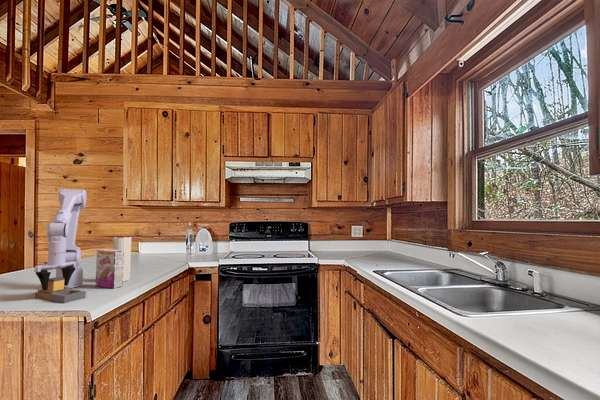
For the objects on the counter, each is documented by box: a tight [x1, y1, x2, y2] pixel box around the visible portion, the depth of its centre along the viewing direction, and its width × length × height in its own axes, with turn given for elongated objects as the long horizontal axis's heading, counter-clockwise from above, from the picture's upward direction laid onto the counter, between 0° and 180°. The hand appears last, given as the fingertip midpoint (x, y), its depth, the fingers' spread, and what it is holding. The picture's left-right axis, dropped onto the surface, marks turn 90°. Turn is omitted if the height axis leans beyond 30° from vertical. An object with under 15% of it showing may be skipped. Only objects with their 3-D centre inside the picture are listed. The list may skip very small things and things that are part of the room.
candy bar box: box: [95, 248, 124, 290], centre depth 146 cm, size 11×5×16 cm, turn 71°
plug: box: [47, 276, 64, 291], centre depth 128 cm, size 4×4×5 cm
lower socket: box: [49, 288, 87, 304], centre depth 124 cm, size 8×8×3 cm
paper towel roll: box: [112, 236, 133, 283], centre depth 157 cm, size 7×6×21 cm
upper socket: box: [34, 287, 73, 301], centre depth 128 cm, size 9×9×3 cm
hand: (55, 287), depth 128 cm, fingers open, 7 cm apart
